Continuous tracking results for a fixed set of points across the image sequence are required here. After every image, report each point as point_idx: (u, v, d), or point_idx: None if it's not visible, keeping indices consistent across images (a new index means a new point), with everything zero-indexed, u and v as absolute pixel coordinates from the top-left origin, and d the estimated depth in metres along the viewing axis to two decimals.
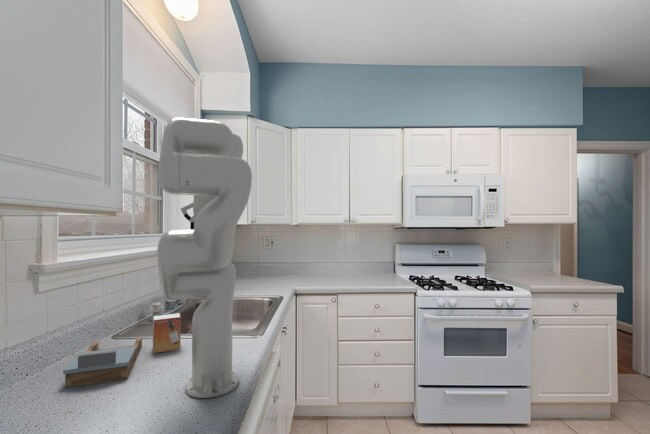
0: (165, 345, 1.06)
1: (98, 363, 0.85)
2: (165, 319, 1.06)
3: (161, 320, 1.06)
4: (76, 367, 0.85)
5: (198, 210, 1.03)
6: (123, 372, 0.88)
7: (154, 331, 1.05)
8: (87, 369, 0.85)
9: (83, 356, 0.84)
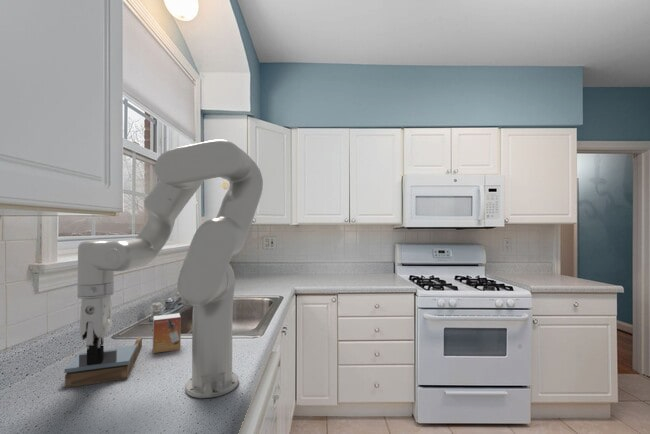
0: (165, 345, 1.06)
1: None
2: (165, 319, 1.06)
3: (161, 321, 1.06)
4: (77, 366, 0.85)
5: (104, 330, 0.82)
6: (123, 372, 0.88)
7: (154, 331, 1.05)
8: (88, 368, 0.85)
9: (84, 355, 0.85)
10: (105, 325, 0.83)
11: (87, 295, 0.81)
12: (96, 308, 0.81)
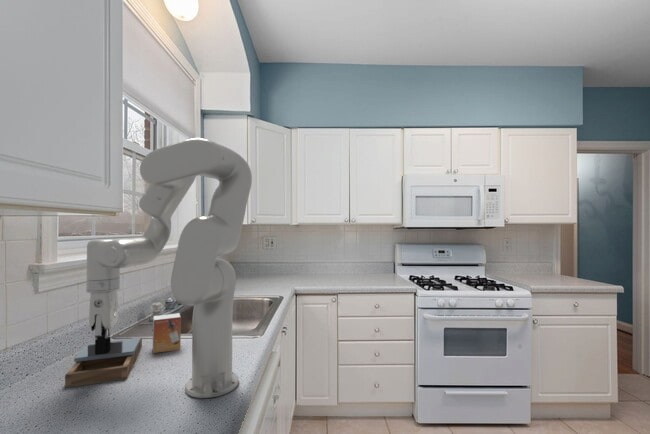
0: (165, 345, 1.06)
1: None
2: (165, 319, 1.06)
3: (161, 321, 1.06)
4: (86, 355, 0.92)
5: (111, 322, 0.89)
6: (123, 372, 0.88)
7: (154, 331, 1.05)
8: (96, 357, 0.92)
9: (92, 345, 0.92)
10: (112, 317, 0.89)
11: (95, 289, 0.87)
12: (104, 301, 0.87)
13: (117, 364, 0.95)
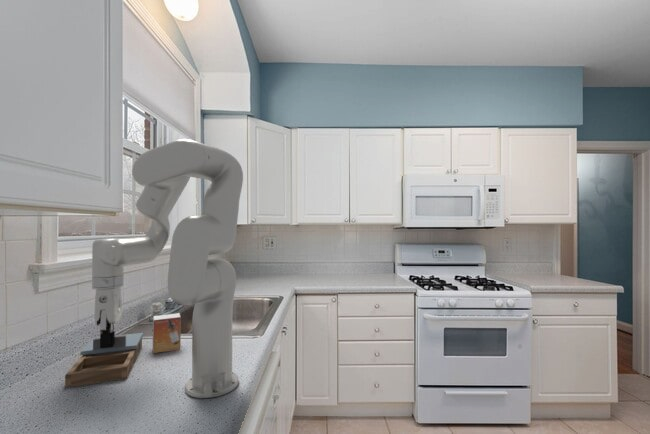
0: (165, 345, 1.06)
1: None
2: (165, 319, 1.06)
3: (161, 321, 1.06)
4: (91, 349, 0.96)
5: (116, 317, 0.93)
6: (123, 372, 0.88)
7: (154, 331, 1.05)
8: (101, 351, 0.97)
9: (97, 339, 0.96)
10: (116, 313, 0.94)
11: (100, 286, 0.92)
12: (108, 297, 0.92)
13: (117, 364, 0.95)
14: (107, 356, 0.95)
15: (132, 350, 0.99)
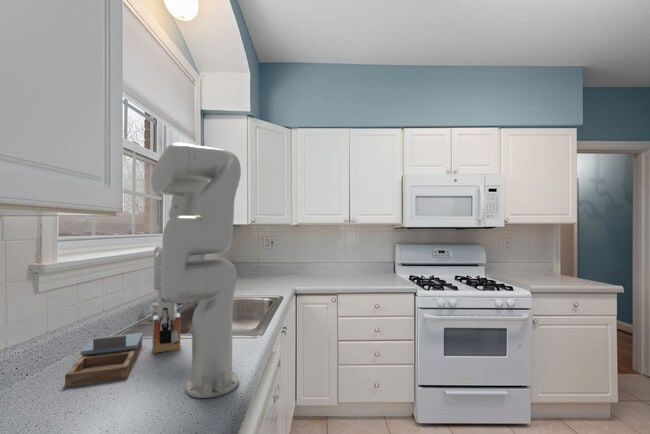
0: (165, 345, 1.06)
1: (111, 346, 0.98)
2: None
3: None
4: (91, 349, 0.97)
5: (175, 314, 1.06)
6: (123, 372, 0.88)
7: (154, 331, 1.05)
8: (101, 351, 0.97)
9: (98, 339, 0.97)
10: (175, 311, 1.07)
11: None
12: None
13: (117, 364, 0.95)
14: (107, 356, 0.95)
15: (132, 350, 0.99)
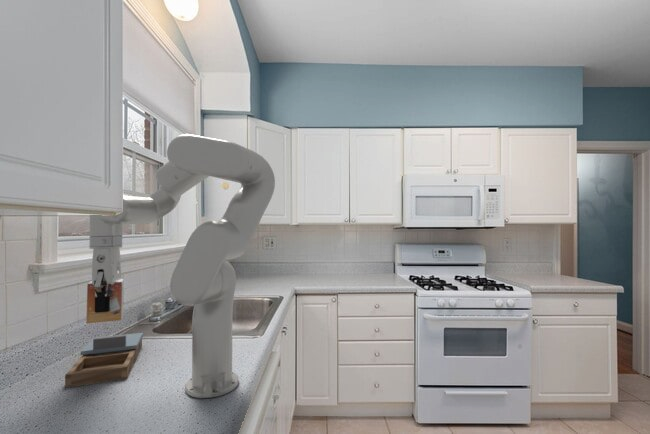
0: (102, 315, 0.89)
1: (111, 346, 0.98)
2: (102, 283, 0.89)
3: None
4: (91, 349, 0.97)
5: (114, 278, 0.89)
6: (123, 372, 0.88)
7: (88, 298, 0.88)
8: (101, 351, 0.97)
9: (98, 339, 0.97)
10: (114, 274, 0.90)
11: (98, 245, 0.88)
12: (106, 257, 0.88)
13: (117, 364, 0.95)
14: (107, 356, 0.95)
15: (132, 350, 0.99)
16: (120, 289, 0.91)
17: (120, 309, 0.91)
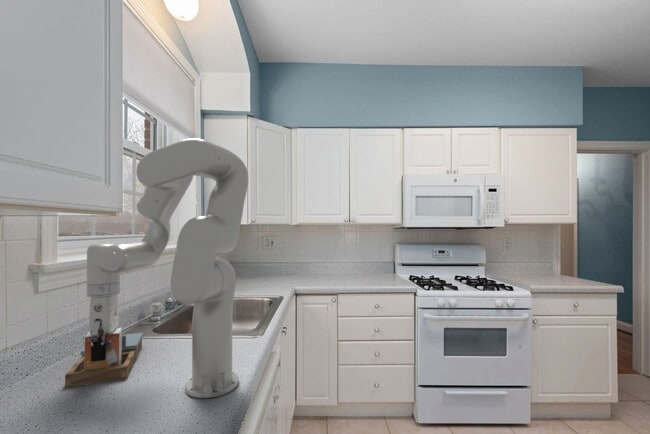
0: (99, 368, 0.88)
1: None
2: (99, 336, 0.89)
3: None
4: None
5: (111, 327, 0.89)
6: (123, 372, 0.88)
7: (85, 351, 0.87)
8: None
9: None
10: (112, 322, 0.89)
11: (95, 294, 0.87)
12: (104, 306, 0.87)
13: None
14: None
15: (132, 350, 0.99)
16: (118, 341, 0.90)
17: (118, 361, 0.90)
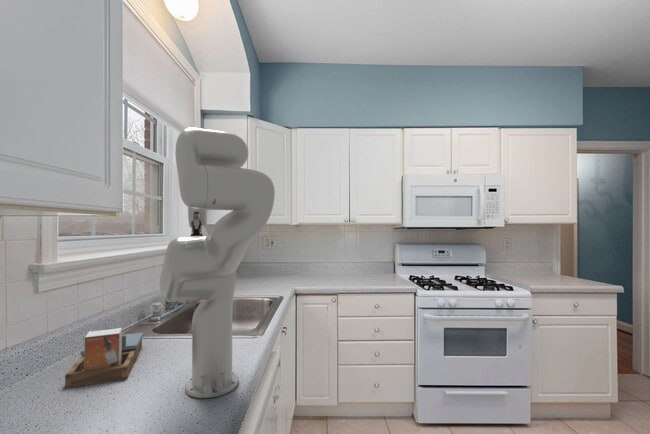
0: (99, 368, 0.88)
1: None
2: (99, 336, 0.89)
3: (94, 338, 0.88)
4: None
5: (206, 221, 1.00)
6: (123, 372, 0.88)
7: (85, 351, 0.87)
8: None
9: None
10: (206, 218, 1.00)
11: None
12: None
13: None
14: None
15: (132, 350, 0.99)
16: (118, 341, 0.90)
17: (118, 361, 0.90)
